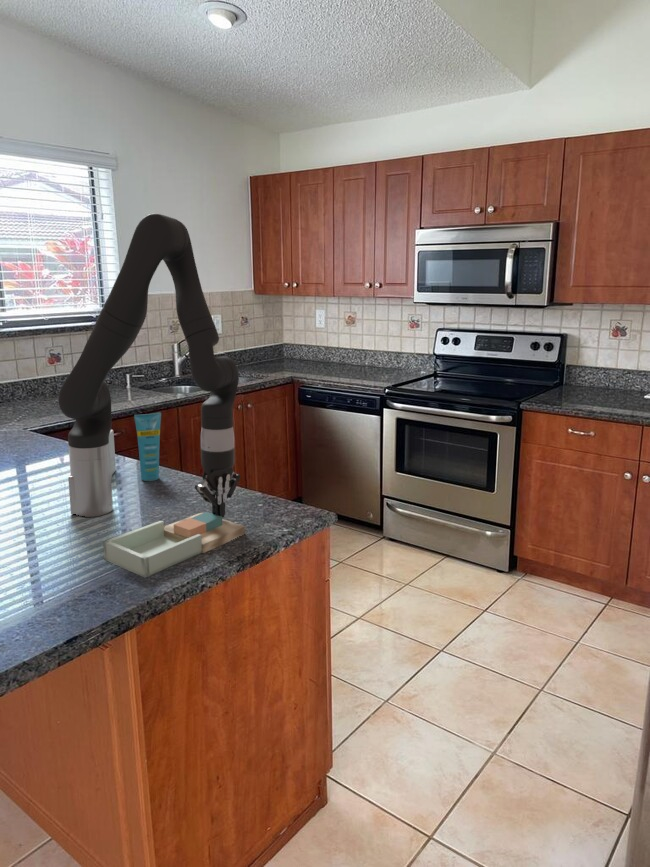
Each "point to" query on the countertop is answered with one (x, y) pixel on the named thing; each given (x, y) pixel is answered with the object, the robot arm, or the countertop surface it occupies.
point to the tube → (148, 444)
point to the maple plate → (210, 534)
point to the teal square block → (209, 520)
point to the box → (149, 550)
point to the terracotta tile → (189, 528)
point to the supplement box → (112, 452)
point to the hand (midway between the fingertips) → (219, 517)
